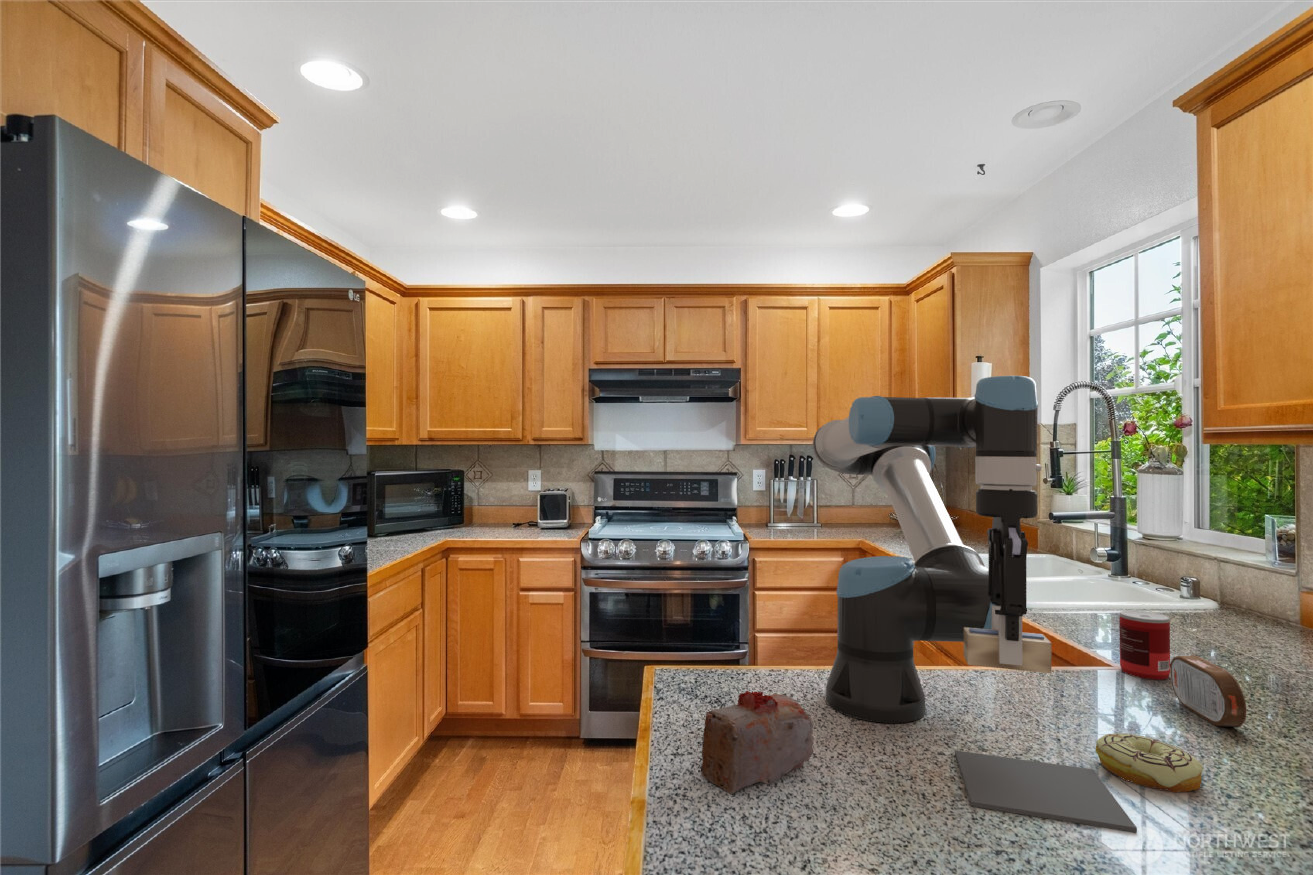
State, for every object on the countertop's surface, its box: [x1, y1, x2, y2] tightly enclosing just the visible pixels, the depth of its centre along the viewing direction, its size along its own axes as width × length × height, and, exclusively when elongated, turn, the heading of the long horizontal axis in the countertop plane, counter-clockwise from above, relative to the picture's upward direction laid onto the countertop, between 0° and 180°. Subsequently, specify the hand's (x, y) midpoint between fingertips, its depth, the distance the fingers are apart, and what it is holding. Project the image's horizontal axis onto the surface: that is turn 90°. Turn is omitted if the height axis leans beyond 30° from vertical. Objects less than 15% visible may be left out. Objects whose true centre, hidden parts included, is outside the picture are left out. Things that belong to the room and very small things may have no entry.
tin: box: [1170, 654, 1247, 728], centre depth 103 cm, size 15×3×8 cm, turn 168°
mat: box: [954, 750, 1138, 833], centre depth 79 cm, size 16×14×1 cm
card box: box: [963, 627, 1052, 674], centre depth 90 cm, size 10×4×4 cm, turn 72°
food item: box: [699, 690, 815, 795], centre depth 82 cm, size 14×8×10 cm, turn 127°
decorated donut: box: [1095, 732, 1204, 793], centre depth 83 cm, size 10×11×4 cm
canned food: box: [1118, 609, 1171, 681], centre depth 124 cm, size 8×8×11 cm
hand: (1006, 657), depth 90 cm, fingers closed on card box, 4 cm apart
